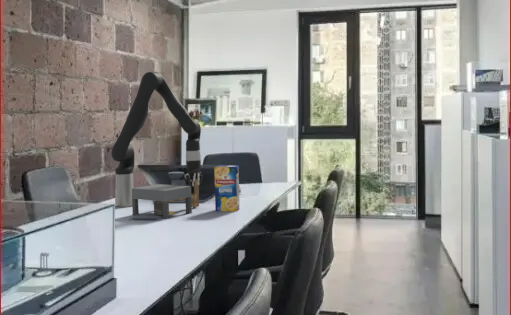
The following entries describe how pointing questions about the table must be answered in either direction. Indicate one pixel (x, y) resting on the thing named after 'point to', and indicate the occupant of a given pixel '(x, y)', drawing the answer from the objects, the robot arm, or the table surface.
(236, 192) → the blue yellow food box
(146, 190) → the charcoal table
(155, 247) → the table surface
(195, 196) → the oak rake
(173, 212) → the brass token
